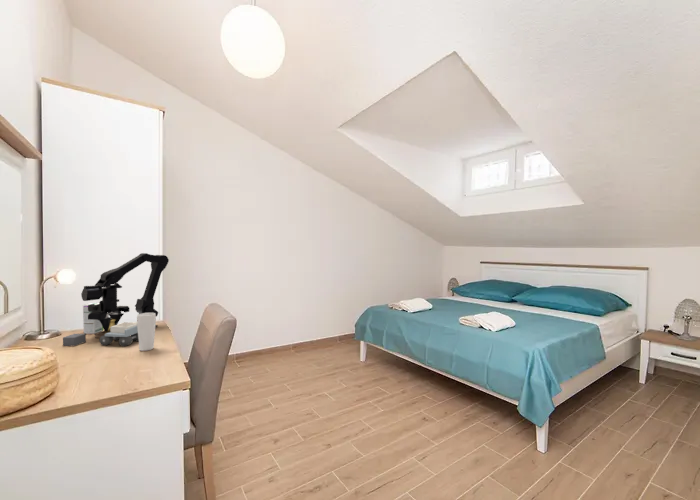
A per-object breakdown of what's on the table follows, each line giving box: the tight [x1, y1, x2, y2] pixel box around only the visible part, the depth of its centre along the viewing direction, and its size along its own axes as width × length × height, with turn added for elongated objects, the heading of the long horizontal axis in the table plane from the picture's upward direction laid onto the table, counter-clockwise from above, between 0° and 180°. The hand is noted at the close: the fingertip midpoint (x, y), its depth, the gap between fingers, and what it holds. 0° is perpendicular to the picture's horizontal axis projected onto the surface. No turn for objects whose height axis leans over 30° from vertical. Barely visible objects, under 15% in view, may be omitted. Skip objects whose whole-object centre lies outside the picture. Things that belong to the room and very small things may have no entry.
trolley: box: [98, 326, 139, 347], centre depth 146 cm, size 10×13×7 cm
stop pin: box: [105, 318, 116, 333], centre depth 156 cm, size 5×5×8 cm
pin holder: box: [94, 330, 106, 339], centre depth 156 cm, size 8×8×2 cm
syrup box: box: [82, 302, 104, 335], centre depth 162 cm, size 6×6×14 cm
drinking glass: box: [136, 313, 157, 352], centre depth 137 cm, size 7×7×15 cm
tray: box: [110, 322, 137, 333], centre depth 147 cm, size 8×8×3 cm
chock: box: [62, 333, 87, 347], centre depth 144 cm, size 6×5×4 cm
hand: (109, 330), depth 156 cm, fingers closed on stop pin, 4 cm apart
